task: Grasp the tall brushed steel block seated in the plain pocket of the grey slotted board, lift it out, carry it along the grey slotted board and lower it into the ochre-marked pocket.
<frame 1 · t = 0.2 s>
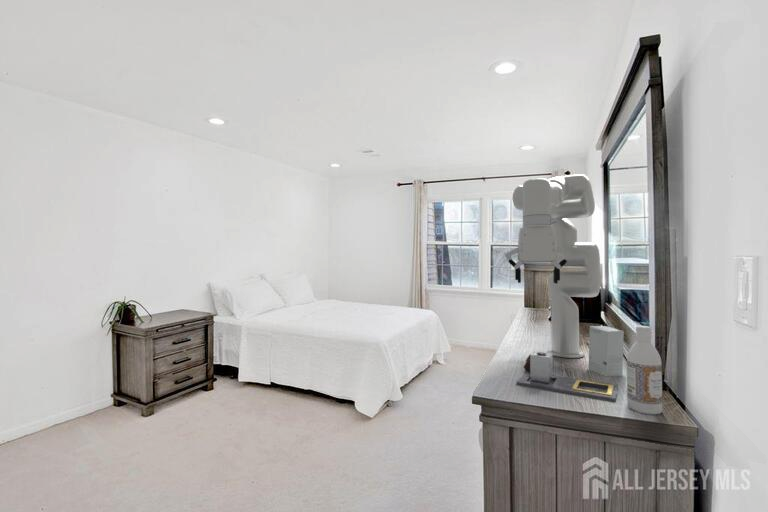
hand: (537, 282, 109), 30 cm above the table, tool pointing down, fingers open, 9 cm apart
grey slotted board: (566, 389, 107), on the table
bath foam: (644, 410, 93), on the table
bolt: (534, 370, 127), on the table
skincare box: (605, 376, 120), on the table
brushed steel block: (541, 382, 110), point 1 cm above the table, touching grey slotted board
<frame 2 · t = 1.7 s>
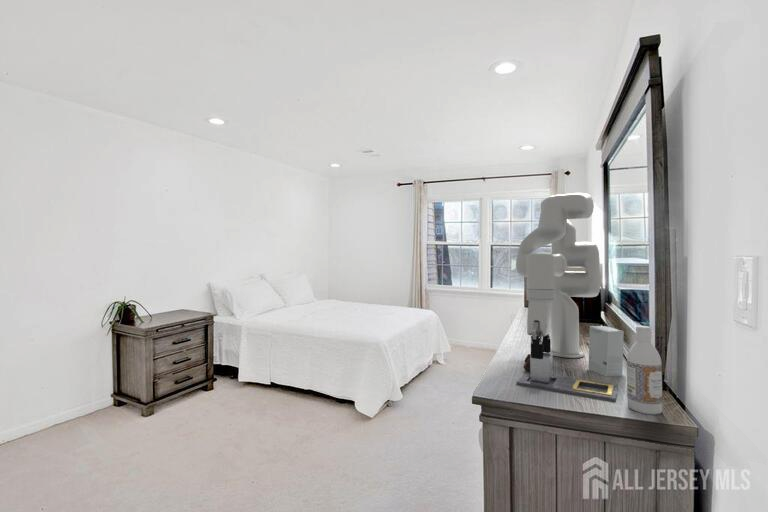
hand: (540, 355, 110), 9 cm above the table, tool pointing down, fingers open, 9 cm apart
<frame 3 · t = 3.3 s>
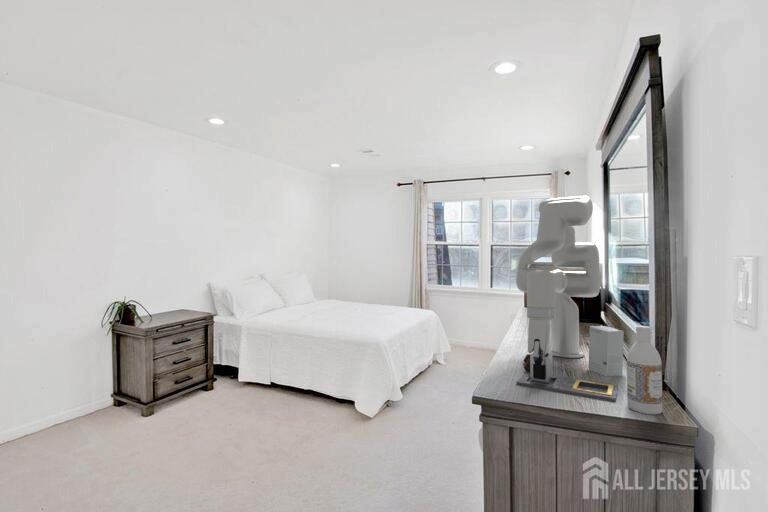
hand: (541, 375, 110), 3 cm above the table, tool pointing down, fingers closed on brushed steel block, 5 cm apart
brushed steel block: (541, 382, 110), point 1 cm above the table, touching gripper, grey slotted board
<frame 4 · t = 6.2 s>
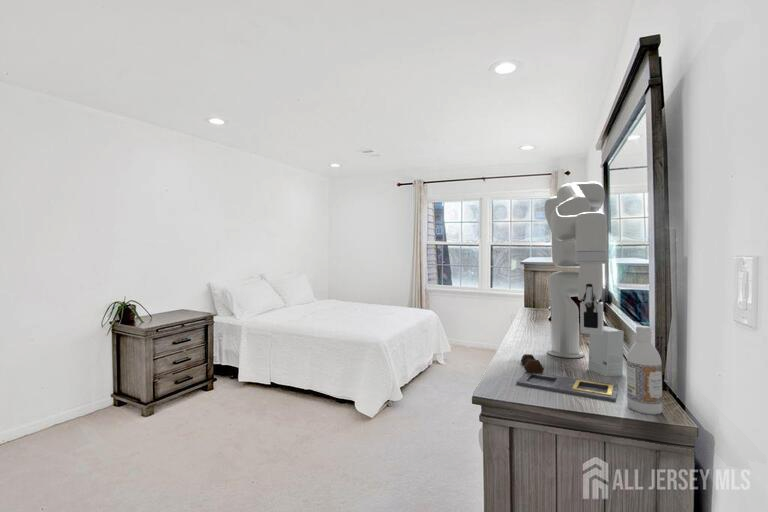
hand: (592, 325, 103), 19 cm above the table, tool pointing down, fingers closed on brushed steel block, 5 cm apart
brushed steel block: (592, 332, 103), point 17 cm above the table, touching gripper
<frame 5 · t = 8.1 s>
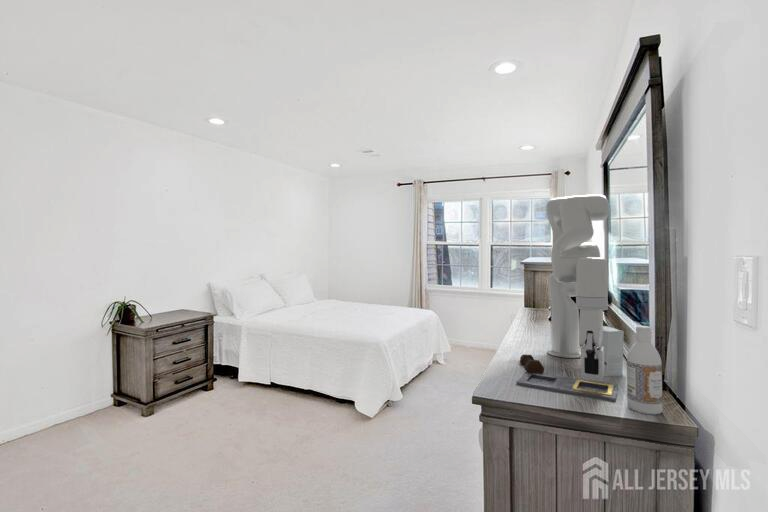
hand: (592, 370, 103), 6 cm above the table, tool pointing down, fingers closed on brushed steel block, 5 cm apart
brushed steel block: (592, 377, 103), point 5 cm above the table, touching gripper
when the fingers open (4 cm above the table, at t = 9.4 s): brushed steel block drops 1 cm, resting on grey slotted board.
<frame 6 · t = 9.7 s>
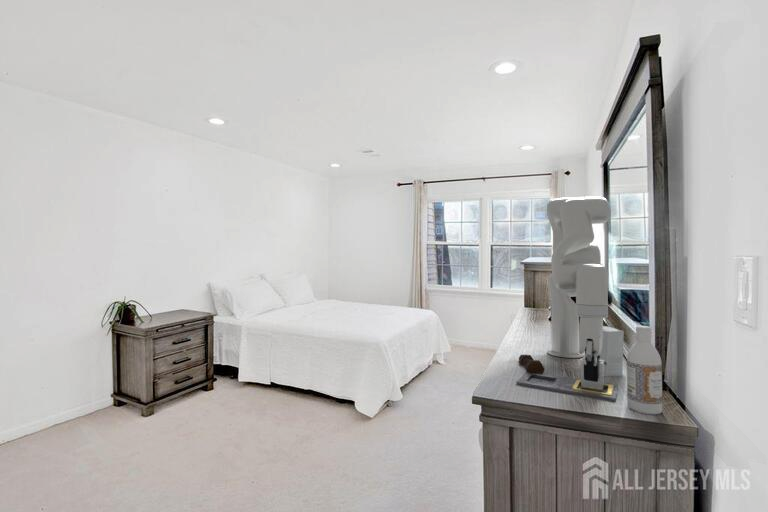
hand: (592, 376, 103), 5 cm above the table, tool pointing down, fingers open, 7 cm apart
brushed steel block: (592, 390, 103), point 1 cm above the table, touching grey slotted board
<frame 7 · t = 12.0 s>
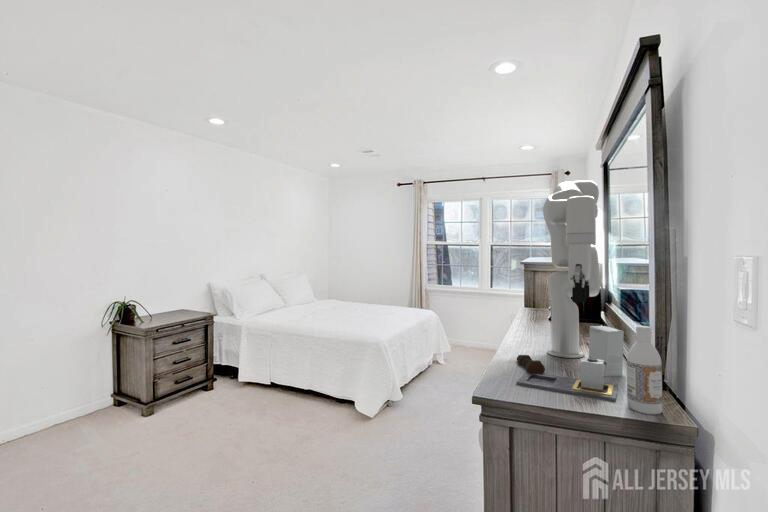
hand: (581, 300, 109), 25 cm above the table, tool pointing down, fingers open, 9 cm apart
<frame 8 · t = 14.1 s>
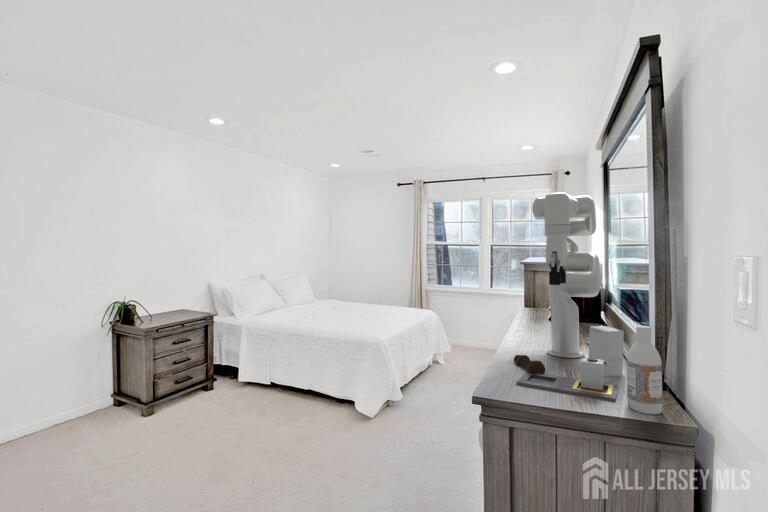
hand: (557, 283, 125), 28 cm above the table, tool pointing down, fingers open, 9 cm apart
at the end: brushed steel block inside the target area (0.1 cm from its centre), point 1.0 cm above the table; brushed steel block tilted 0°; the gripper is holding nothing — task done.
